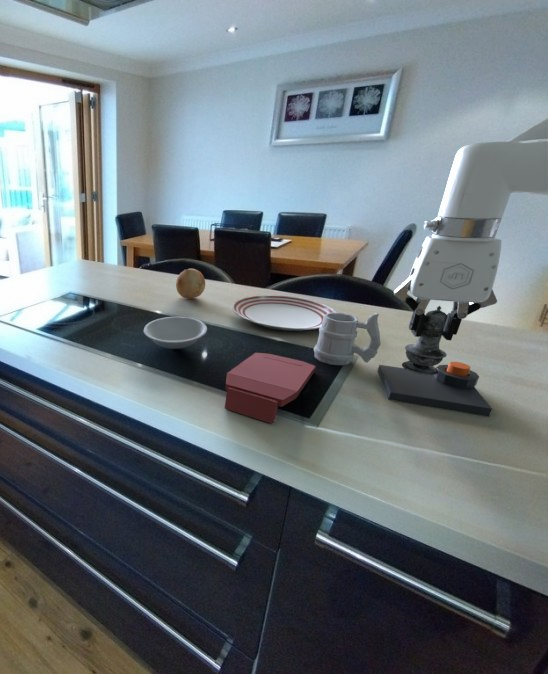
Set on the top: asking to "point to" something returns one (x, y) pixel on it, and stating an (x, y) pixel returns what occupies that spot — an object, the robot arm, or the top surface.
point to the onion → (190, 283)
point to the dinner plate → (282, 312)
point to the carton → (265, 384)
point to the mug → (345, 339)
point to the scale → (434, 389)
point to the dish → (175, 331)
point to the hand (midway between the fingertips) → (430, 334)
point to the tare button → (458, 369)
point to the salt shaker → (427, 345)
